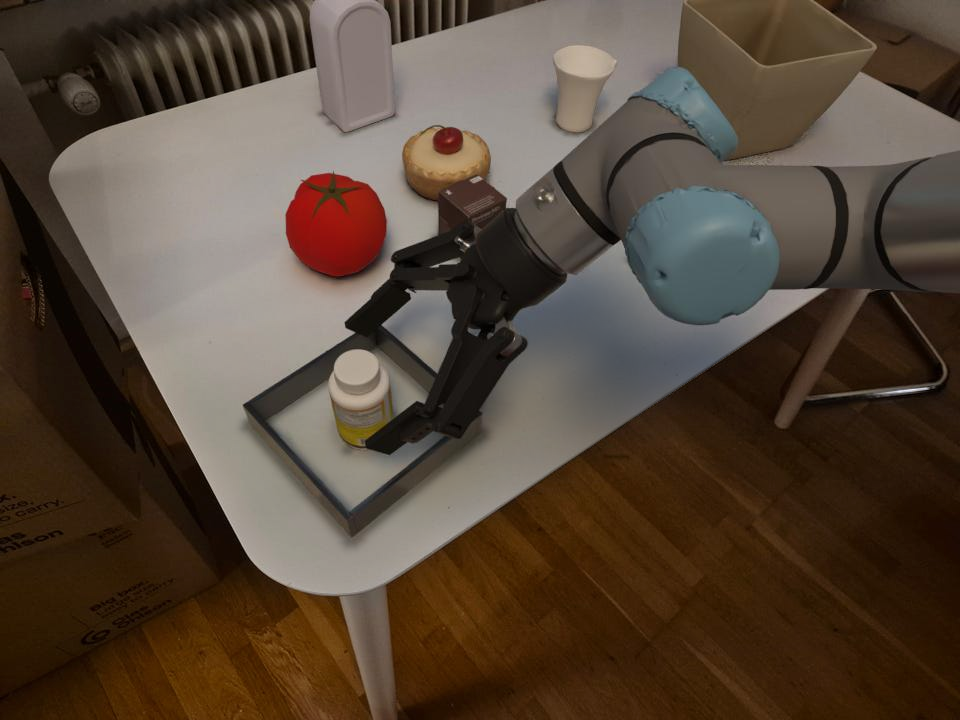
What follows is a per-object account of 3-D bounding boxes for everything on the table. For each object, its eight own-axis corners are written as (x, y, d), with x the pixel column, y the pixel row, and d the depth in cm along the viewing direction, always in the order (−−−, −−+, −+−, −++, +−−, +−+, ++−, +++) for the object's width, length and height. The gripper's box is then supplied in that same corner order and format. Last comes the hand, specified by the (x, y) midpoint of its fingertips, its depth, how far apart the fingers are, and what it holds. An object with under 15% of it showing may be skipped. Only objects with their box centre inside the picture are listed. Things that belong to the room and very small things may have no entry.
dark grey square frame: (480, 432, 67) (483, 413, 64) (351, 537, 59) (347, 521, 57) (378, 340, 73) (375, 319, 71) (250, 424, 66) (242, 404, 63)
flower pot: (823, 156, 100) (882, 45, 87) (717, 180, 95) (763, 66, 82) (748, 91, 111) (790, -17, 97) (649, 109, 106) (680, -2, 92)
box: (466, 264, 82) (468, 217, 76) (436, 237, 84) (436, 190, 79) (503, 245, 84) (508, 198, 78) (474, 219, 87) (476, 172, 81)
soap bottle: (346, 136, 97) (325, -34, 79) (322, 113, 100) (297, -55, 82) (398, 118, 100) (390, -50, 82) (374, 96, 104) (361, -69, 86)
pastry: (502, 198, 90) (508, 141, 83) (419, 217, 87) (418, 159, 80) (469, 148, 96) (472, 91, 89) (391, 164, 93) (387, 106, 86)
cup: (607, 140, 100) (622, 76, 92) (545, 136, 99) (554, 72, 92) (601, 107, 105) (615, 45, 97) (543, 104, 105) (551, 41, 97)
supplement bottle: (360, 396, 69) (350, 332, 61) (405, 421, 67) (401, 358, 59) (326, 436, 66) (310, 373, 58) (372, 462, 64) (363, 402, 56)
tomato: (282, 239, 83) (264, 163, 74) (371, 218, 86) (364, 142, 77) (308, 305, 76) (292, 230, 67) (403, 279, 79) (399, 205, 71)
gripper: (472, 124, 57) (318, 274, 66) (565, 346, 42) (351, 499, 51) (524, 169, 62) (375, 302, 71) (624, 381, 48) (420, 515, 56)
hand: (365, 385), depth 61 cm, fingers open, 13 cm apart
